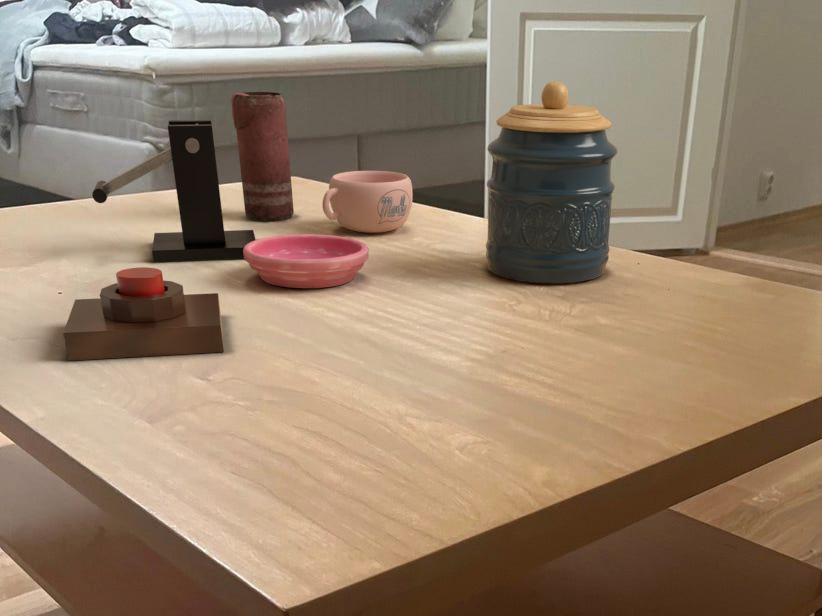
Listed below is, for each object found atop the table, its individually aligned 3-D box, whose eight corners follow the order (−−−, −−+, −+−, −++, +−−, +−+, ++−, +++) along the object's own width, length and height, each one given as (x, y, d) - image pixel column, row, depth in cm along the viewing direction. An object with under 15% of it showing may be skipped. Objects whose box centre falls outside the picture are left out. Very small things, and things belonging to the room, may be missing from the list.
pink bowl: (323, 258, 110) (321, 227, 108) (394, 280, 102) (393, 247, 100) (223, 275, 102) (219, 243, 101) (290, 301, 95) (287, 266, 93)
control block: (68, 360, 79) (57, 309, 77) (80, 325, 87) (70, 277, 85) (224, 352, 82) (217, 302, 79) (221, 318, 90) (215, 271, 88)
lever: (100, 210, 105) (86, 188, 103) (104, 201, 109) (90, 180, 107) (210, 150, 104) (197, 127, 103) (209, 143, 108) (197, 121, 107)
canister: (576, 253, 114) (588, 75, 104) (629, 280, 103) (647, 86, 94) (468, 260, 110) (469, 76, 100) (511, 289, 100) (518, 88, 90)
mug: (380, 218, 128) (378, 167, 125) (429, 230, 122) (429, 178, 119) (301, 230, 122) (297, 177, 118) (349, 244, 115) (346, 188, 112)
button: (118, 301, 81) (114, 278, 80) (120, 289, 84) (117, 268, 83) (164, 299, 81) (161, 277, 80) (165, 287, 84) (162, 266, 83)
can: (237, 214, 129) (224, 91, 121) (285, 210, 131) (275, 89, 124) (251, 223, 124) (238, 96, 117) (300, 219, 127) (290, 94, 119)
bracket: (153, 262, 107) (132, 128, 100) (156, 244, 114) (136, 118, 107) (258, 258, 109) (245, 127, 102) (254, 240, 116) (241, 117, 109)
